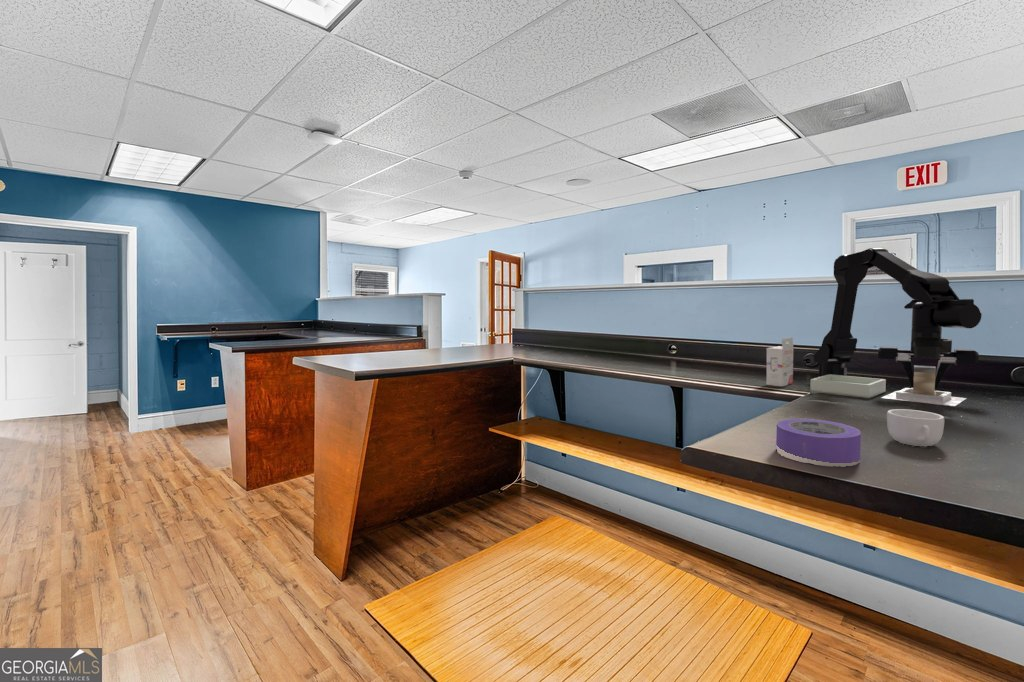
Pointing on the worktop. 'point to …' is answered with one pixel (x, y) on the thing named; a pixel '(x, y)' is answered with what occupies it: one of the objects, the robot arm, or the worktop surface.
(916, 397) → the socket collar
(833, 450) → the tape roll
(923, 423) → the teacup
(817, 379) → the bin
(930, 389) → the strut
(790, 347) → the ink cartridge box
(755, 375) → the worktop surface
